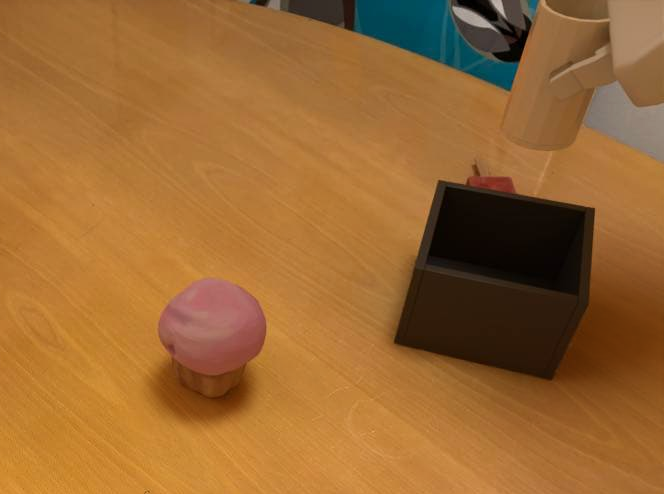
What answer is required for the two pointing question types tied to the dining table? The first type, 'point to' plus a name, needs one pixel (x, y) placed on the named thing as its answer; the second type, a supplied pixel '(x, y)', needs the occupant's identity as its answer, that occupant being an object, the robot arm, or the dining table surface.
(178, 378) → the cupcake
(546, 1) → the cardboard tube
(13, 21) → the dining table surface
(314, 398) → the dining table surface
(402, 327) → the bin
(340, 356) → the dining table surface
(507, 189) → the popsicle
